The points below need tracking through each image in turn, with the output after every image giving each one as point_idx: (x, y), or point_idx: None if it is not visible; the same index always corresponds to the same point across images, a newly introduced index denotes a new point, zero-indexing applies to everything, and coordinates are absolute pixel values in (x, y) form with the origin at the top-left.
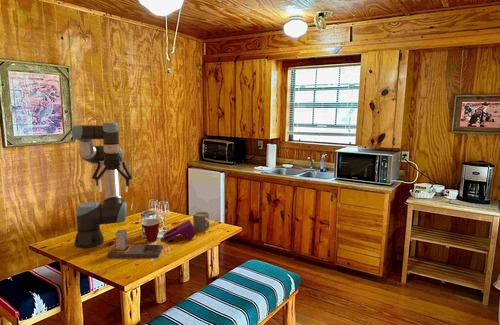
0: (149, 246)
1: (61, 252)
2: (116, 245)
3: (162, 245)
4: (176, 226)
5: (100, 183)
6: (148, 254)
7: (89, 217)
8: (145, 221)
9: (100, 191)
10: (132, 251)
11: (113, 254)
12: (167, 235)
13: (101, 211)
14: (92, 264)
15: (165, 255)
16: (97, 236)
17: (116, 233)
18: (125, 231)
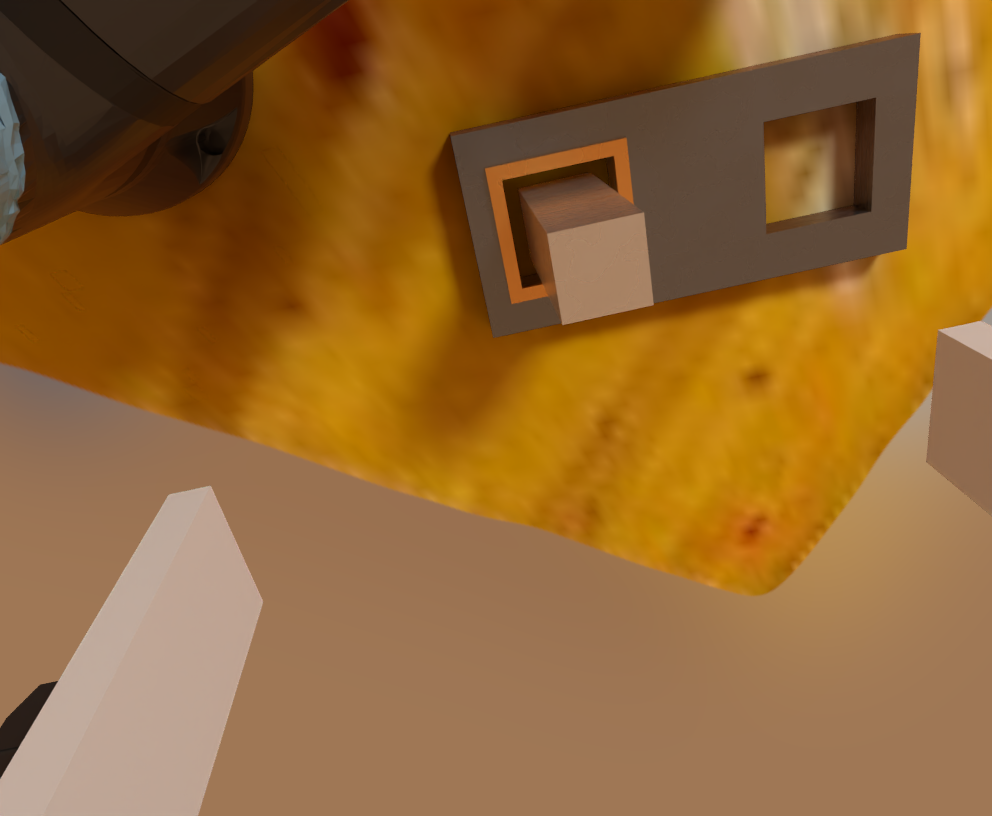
0: (795, 107)
1: (48, 324)
2: (542, 281)
3: (917, 54)
4: None
5: (149, 762)
6: (821, 265)
7: (57, 212)
8: None
9: (244, 579)
10: (676, 252)
11: (538, 325)
12: None
13: (146, 88)
14: (447, 446)
15: (939, 191)
16: (209, 107)
17: (567, 321)
18: (648, 263)
